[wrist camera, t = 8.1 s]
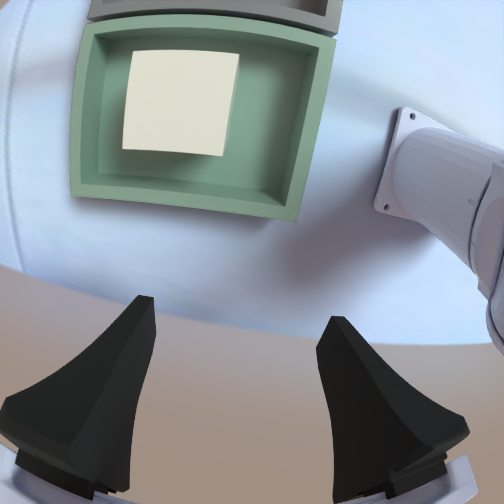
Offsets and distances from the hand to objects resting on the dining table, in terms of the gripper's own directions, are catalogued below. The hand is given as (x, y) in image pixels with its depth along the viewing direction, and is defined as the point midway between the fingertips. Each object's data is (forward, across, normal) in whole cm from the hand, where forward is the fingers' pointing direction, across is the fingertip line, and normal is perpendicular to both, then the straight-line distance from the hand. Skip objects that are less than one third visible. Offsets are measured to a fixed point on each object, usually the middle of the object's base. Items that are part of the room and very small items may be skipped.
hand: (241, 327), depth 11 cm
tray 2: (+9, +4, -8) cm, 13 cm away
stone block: (+9, +4, -8) cm, 12 cm away
